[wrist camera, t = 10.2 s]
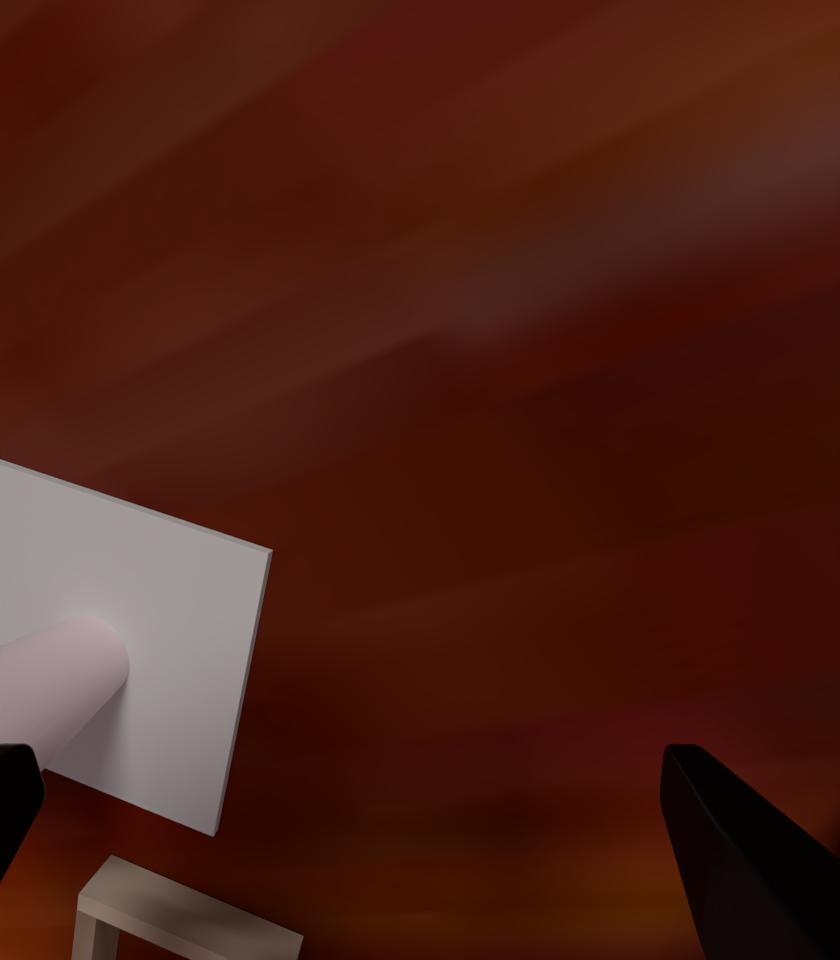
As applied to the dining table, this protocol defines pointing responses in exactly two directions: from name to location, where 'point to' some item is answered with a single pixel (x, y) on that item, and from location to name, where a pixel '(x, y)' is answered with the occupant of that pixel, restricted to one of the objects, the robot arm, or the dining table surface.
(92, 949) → the holder
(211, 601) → the mat
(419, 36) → the dining table surface
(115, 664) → the smoothie
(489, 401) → the dining table surface
